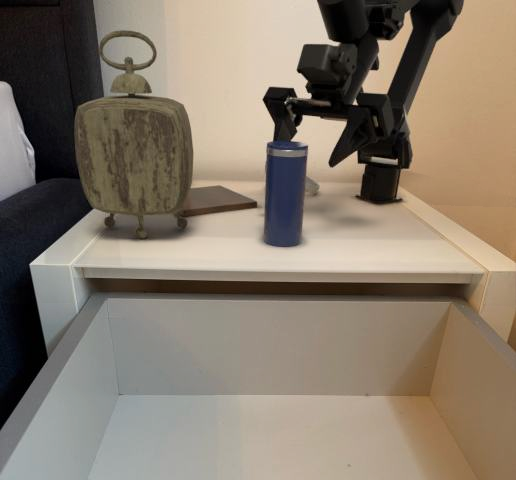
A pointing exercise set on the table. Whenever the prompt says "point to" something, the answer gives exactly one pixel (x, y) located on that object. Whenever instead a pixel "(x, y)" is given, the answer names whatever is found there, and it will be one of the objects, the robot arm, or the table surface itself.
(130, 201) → the tabletop clock
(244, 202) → the desk pad
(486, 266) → the table surface
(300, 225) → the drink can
